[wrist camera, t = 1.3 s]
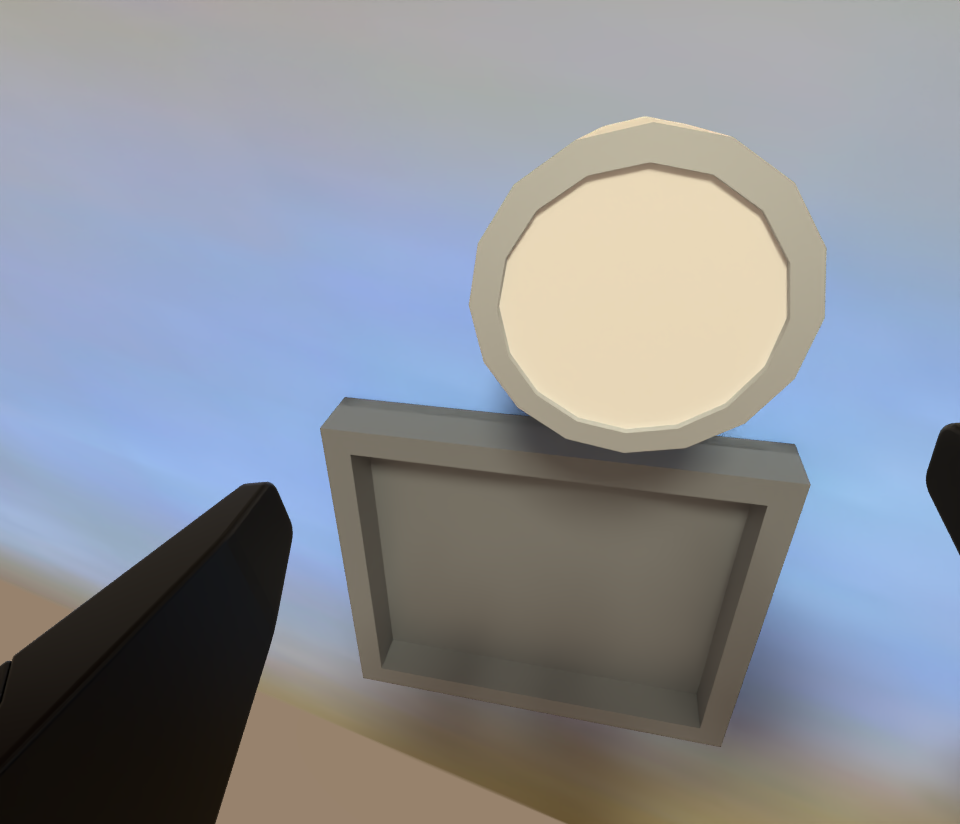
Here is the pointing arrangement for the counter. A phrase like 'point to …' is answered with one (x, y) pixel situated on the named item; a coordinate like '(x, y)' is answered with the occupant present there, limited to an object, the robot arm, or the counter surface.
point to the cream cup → (648, 287)
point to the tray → (559, 563)
